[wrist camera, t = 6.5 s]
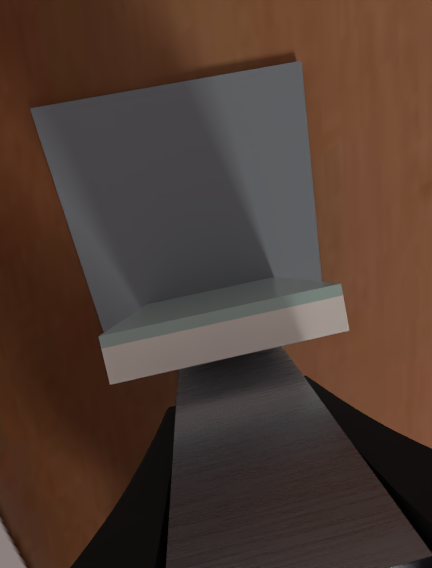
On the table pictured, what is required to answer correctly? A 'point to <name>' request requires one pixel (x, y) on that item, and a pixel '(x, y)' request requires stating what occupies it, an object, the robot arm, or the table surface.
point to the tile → (221, 325)
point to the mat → (185, 186)
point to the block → (274, 477)
